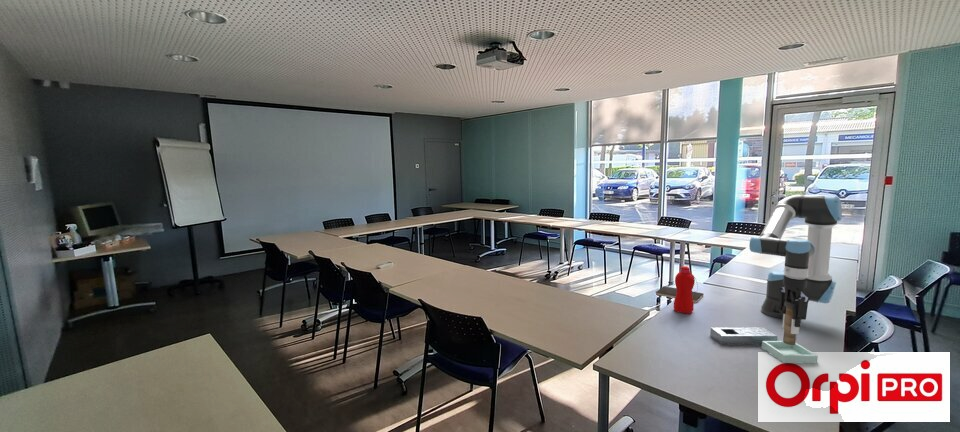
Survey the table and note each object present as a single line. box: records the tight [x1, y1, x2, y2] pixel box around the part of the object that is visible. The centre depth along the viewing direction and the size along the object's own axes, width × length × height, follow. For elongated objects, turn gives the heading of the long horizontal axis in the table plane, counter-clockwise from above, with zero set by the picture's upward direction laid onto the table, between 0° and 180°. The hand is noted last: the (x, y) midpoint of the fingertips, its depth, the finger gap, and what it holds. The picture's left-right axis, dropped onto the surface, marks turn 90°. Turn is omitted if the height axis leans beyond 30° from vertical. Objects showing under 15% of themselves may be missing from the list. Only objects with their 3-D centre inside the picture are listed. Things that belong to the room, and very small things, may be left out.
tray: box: [761, 340, 819, 364], centre depth 160 cm, size 13×13×3 cm
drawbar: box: [709, 326, 778, 346], centre depth 174 cm, size 24×9×4 cm, turn 87°
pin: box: [782, 301, 797, 345], centre depth 158 cm, size 5×5×18 cm
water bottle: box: [673, 265, 699, 315], centre depth 208 cm, size 9×11×25 cm
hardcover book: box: [655, 285, 705, 304], centre depth 235 cm, size 16×23×2 cm
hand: (790, 331), depth 159 cm, fingers closed on pin, 4 cm apart
